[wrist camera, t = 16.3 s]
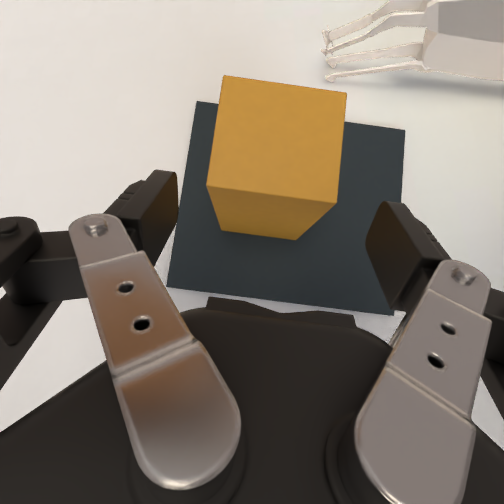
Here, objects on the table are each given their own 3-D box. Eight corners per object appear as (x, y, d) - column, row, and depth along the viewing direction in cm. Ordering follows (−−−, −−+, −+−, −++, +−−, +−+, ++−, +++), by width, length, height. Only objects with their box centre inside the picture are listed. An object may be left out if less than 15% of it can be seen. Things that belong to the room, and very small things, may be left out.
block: (303, 174, 22) (347, 92, 13) (296, 240, 21) (337, 203, 12) (230, 164, 21) (223, 74, 12) (220, 230, 21) (205, 185, 12)
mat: (402, 132, 23) (405, 129, 22) (391, 315, 21) (394, 315, 20) (197, 104, 22) (196, 100, 22) (167, 286, 20) (166, 286, 20)
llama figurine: (333, 129, 29) (573, 102, 23) (316, 33, 19) (756, -69, 12) (334, 112, 29) (572, 80, 23) (318, 7, 19) (750, -106, 12)
